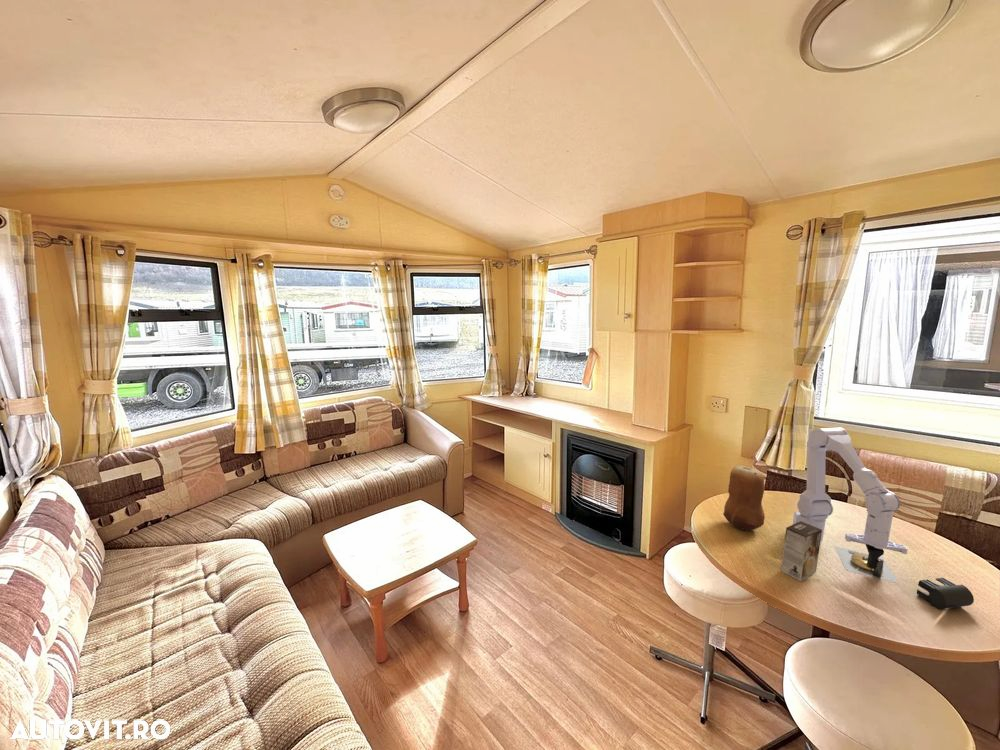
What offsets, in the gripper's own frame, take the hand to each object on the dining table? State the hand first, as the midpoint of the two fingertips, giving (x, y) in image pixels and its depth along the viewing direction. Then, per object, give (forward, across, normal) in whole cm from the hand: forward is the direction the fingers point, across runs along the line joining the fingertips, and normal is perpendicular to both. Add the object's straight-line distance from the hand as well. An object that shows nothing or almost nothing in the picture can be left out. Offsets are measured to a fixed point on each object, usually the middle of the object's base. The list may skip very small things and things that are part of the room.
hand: (871, 566), depth 130 cm
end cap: (+4, +15, -6) cm, 17 cm away
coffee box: (+4, -20, -9) cm, 22 cm away
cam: (+2, 0, +4) cm, 4 cm away
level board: (+3, 0, +6) cm, 7 cm away
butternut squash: (+4, -36, +13) cm, 38 cm away
